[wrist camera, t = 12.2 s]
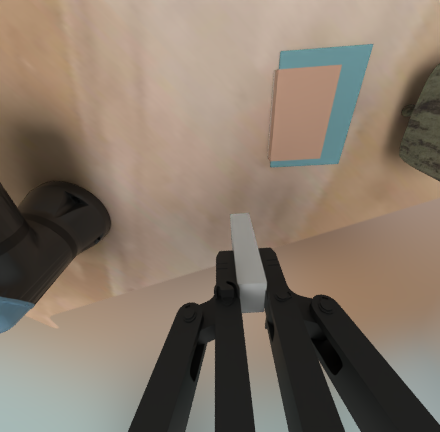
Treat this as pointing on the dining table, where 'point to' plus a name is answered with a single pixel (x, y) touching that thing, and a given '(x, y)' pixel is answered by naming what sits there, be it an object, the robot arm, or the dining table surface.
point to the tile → (301, 111)
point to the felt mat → (344, 97)
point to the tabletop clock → (424, 129)
